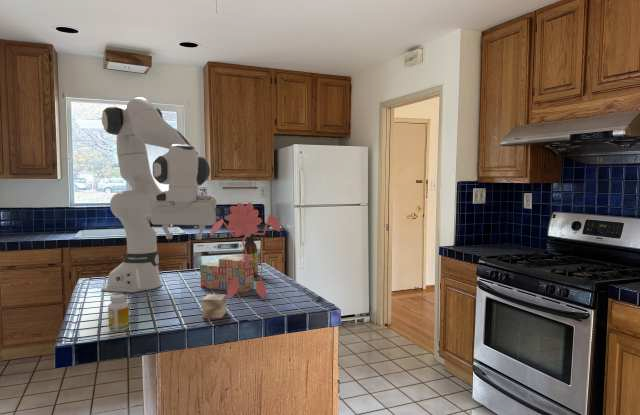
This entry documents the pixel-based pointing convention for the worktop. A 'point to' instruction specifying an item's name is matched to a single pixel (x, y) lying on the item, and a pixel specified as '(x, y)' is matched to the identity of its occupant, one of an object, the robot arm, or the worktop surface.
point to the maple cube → (213, 306)
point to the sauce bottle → (251, 251)
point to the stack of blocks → (228, 274)
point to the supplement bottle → (118, 313)
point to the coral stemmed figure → (247, 224)
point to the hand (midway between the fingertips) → (184, 239)
